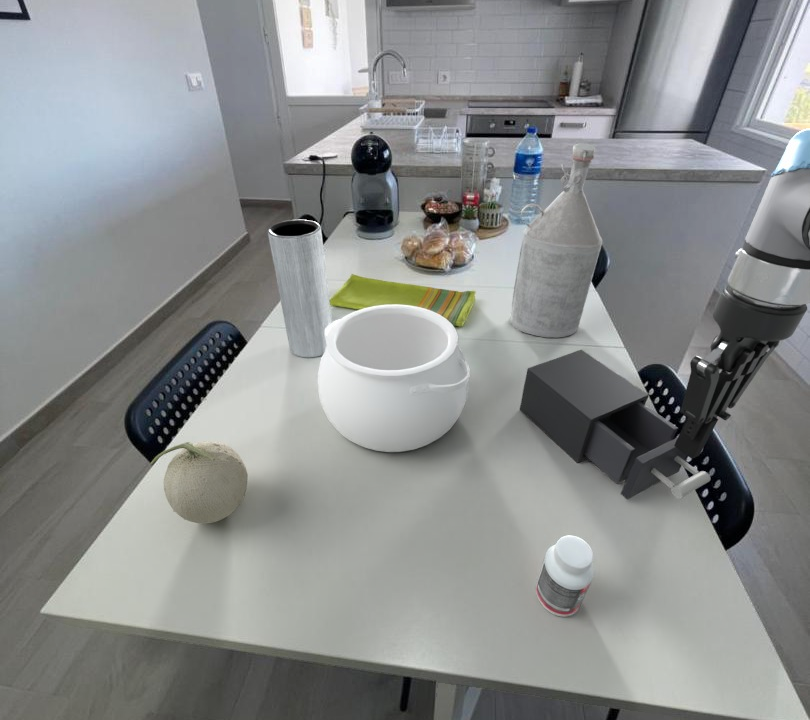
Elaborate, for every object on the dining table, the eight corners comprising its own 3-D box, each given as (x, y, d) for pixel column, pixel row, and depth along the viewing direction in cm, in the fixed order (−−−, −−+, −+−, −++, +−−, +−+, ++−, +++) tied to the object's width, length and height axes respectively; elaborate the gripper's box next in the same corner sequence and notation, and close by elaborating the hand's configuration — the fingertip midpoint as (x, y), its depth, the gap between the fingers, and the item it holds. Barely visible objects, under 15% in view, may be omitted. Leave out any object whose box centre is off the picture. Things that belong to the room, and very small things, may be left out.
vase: (299, 363, 95) (278, 241, 80) (283, 342, 102) (260, 225, 86) (342, 349, 100) (329, 230, 84) (323, 329, 106) (308, 216, 91)
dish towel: (463, 329, 106) (464, 318, 104) (327, 307, 115) (326, 296, 114) (476, 300, 118) (477, 289, 116) (352, 282, 127) (351, 271, 125)
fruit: (186, 481, 70) (154, 410, 61) (260, 477, 70) (239, 405, 62) (161, 542, 61) (120, 469, 53) (246, 536, 62) (219, 463, 53)
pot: (288, 417, 82) (272, 342, 72) (380, 351, 99) (377, 284, 89) (414, 494, 68) (414, 414, 58) (496, 402, 85) (507, 328, 75)
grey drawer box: (631, 437, 77) (649, 394, 71) (577, 463, 72) (591, 419, 67) (570, 389, 88) (581, 349, 82) (519, 409, 83) (527, 368, 77)
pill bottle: (581, 623, 52) (601, 580, 47) (534, 611, 54) (548, 567, 48) (579, 580, 57) (598, 535, 51) (536, 569, 58) (549, 524, 52)
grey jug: (505, 309, 114) (529, 137, 91) (576, 314, 111) (619, 139, 88) (505, 335, 104) (532, 150, 81) (583, 342, 101) (633, 152, 78)
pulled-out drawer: (709, 495, 66) (731, 459, 61) (656, 526, 62) (675, 490, 57) (610, 418, 79) (622, 384, 75) (561, 440, 75) (571, 405, 71)
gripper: (765, 268, 52) (692, 418, 66) (692, 292, 47) (629, 448, 61) (840, 294, 47) (743, 452, 60) (766, 323, 42) (679, 488, 55)
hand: (686, 450), depth 61 cm, fingers closed
